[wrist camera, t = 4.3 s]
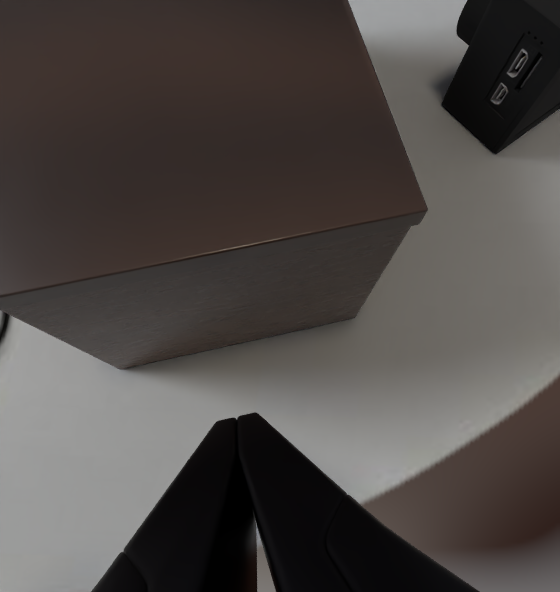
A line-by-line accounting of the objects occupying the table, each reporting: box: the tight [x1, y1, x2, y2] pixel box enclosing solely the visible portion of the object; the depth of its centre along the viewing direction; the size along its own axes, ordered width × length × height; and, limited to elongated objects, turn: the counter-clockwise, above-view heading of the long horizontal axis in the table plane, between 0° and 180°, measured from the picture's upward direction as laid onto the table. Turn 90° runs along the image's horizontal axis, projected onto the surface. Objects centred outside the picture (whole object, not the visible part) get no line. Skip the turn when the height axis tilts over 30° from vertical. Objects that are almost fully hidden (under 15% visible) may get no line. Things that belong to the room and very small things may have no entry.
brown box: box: [0, 0, 428, 369], centre depth 18 cm, size 18×11×10 cm, turn 13°
